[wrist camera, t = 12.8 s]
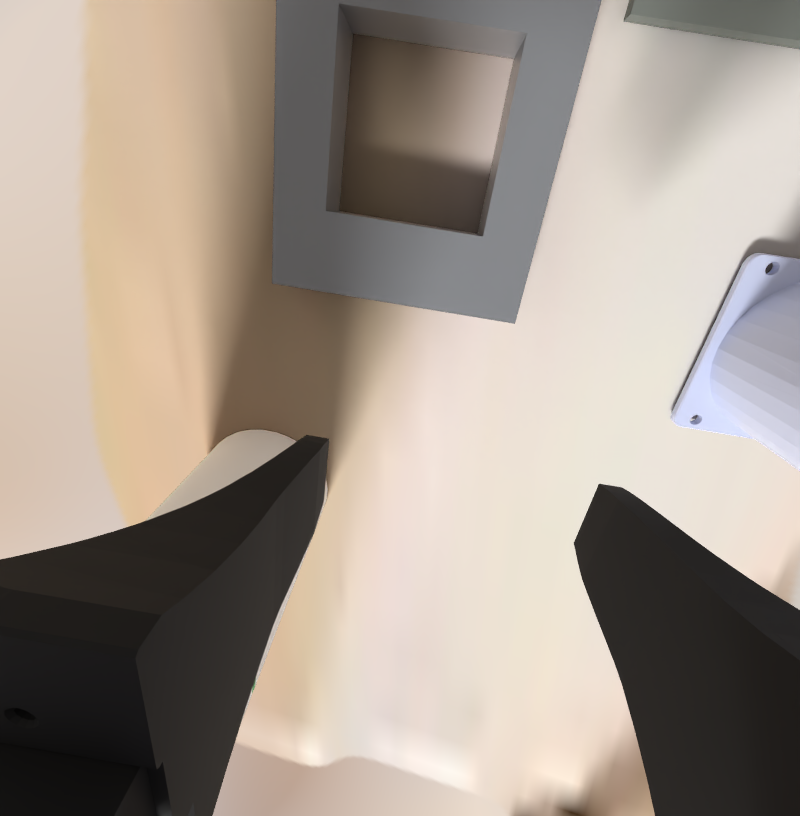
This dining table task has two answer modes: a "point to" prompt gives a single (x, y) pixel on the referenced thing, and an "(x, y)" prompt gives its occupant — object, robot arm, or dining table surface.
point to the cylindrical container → (225, 468)
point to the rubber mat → (724, 18)
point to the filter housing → (403, 241)
